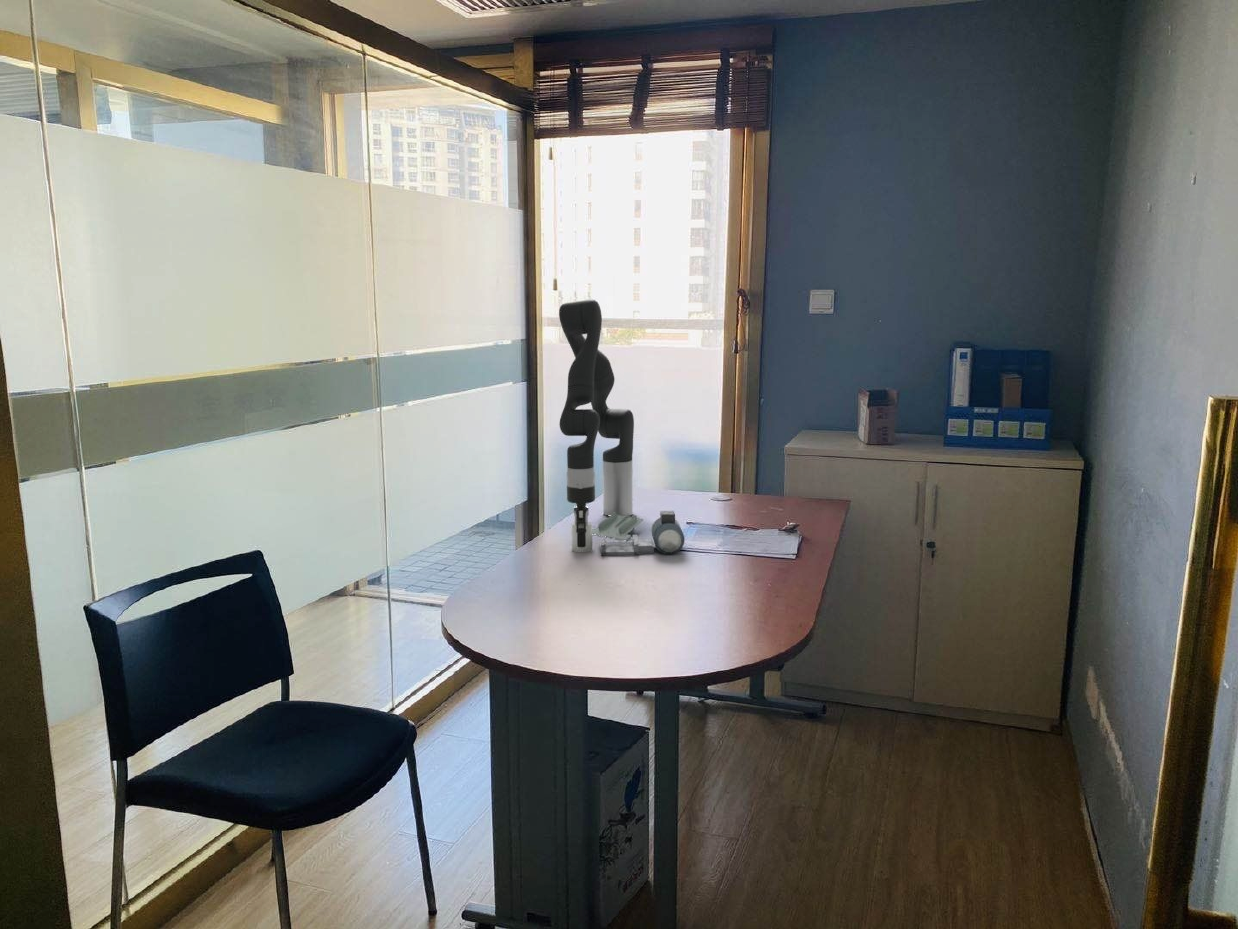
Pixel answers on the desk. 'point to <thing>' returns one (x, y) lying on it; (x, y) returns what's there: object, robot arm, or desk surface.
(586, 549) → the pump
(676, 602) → the desk surface
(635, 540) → the motor
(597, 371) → the robot arm
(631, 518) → the metal bracket
